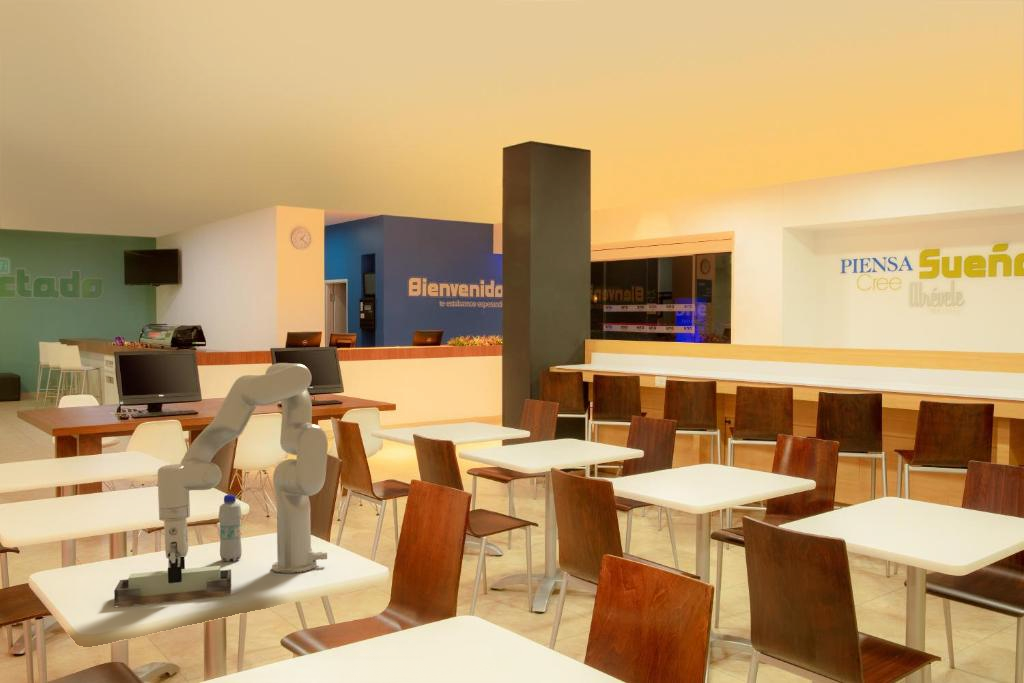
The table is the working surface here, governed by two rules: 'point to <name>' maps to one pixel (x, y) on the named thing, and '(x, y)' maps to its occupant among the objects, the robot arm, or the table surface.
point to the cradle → (132, 595)
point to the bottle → (230, 529)
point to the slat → (159, 583)
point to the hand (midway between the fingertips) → (176, 577)
